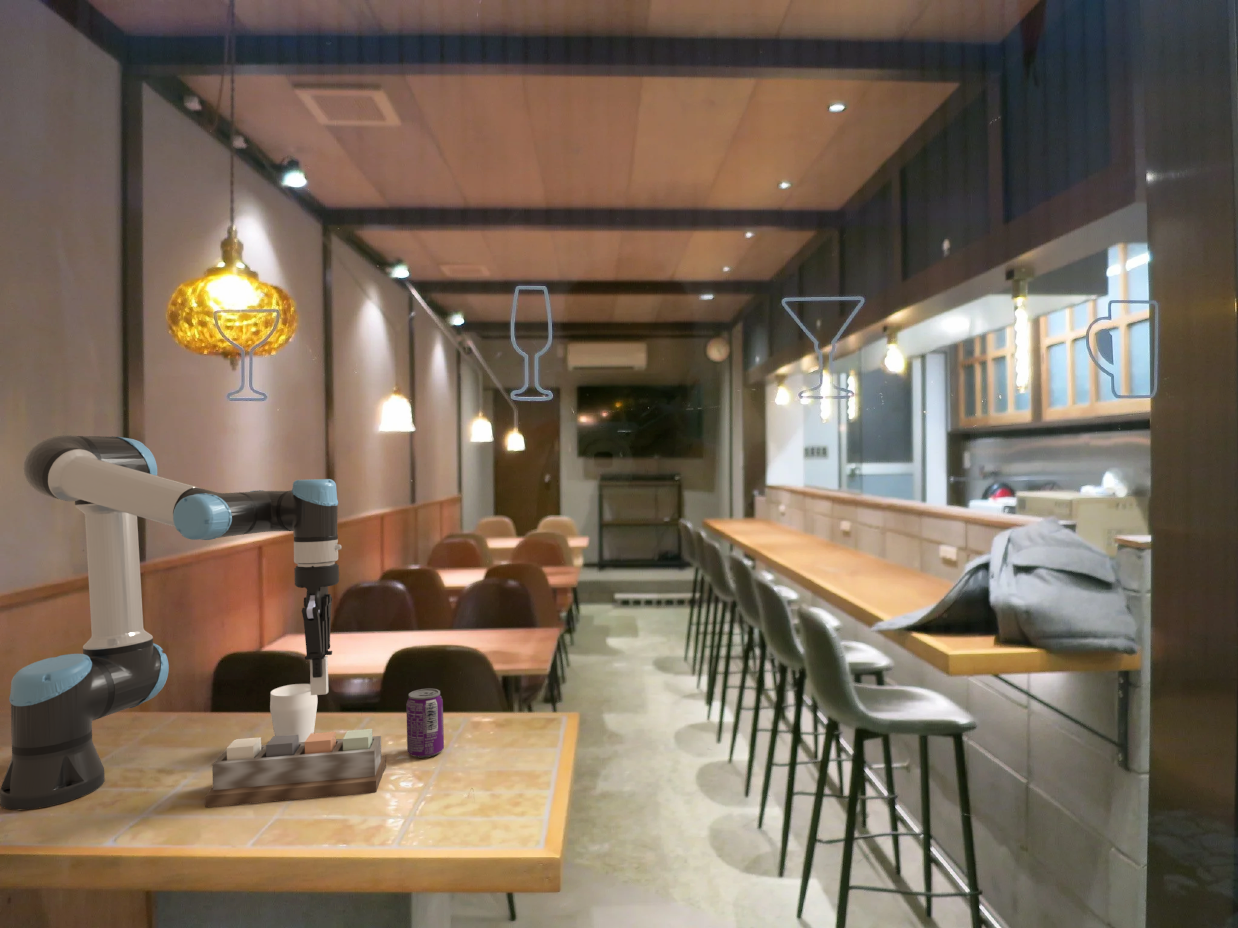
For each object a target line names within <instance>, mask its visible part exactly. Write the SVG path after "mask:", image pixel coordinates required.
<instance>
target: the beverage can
mask: <svg viewBox="0 0 1238 928" xmlns="http://www.w3.org/2000/svg"><path fill="white" fill-rule="evenodd" d="M405 709H406V746H407V748H406V749H407V750H406V752H407V753H408V754H409V755H410V756H413V757H415V758H420V759H422V758H430V757H433V756H436V755H438V754H439V753H440V752H442V751H443V750H444V747H445V738H444V737H445V736H444V700H443V697H442V695H441V690H439V689H437V688H421V689H416V690H413V691H411V692H409V693H408V699H407V701H406V708H405Z"/></svg>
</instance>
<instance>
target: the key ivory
mask: <svg viewBox="0 0 1238 928" xmlns="http://www.w3.org/2000/svg"><path fill="white" fill-rule="evenodd" d="M261 745H262V737H249V738H237V739H234V740H233V741H232V742H231V743H230V744H229V745H228V746H227V747H226V749H227V761H228V760H240V759H253V758H255V757H256V756H257V755H258V754H259V752H260V751H261Z"/></svg>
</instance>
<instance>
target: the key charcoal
mask: <svg viewBox="0 0 1238 928" xmlns="http://www.w3.org/2000/svg"><path fill="white" fill-rule="evenodd" d="M265 745H266V757H277V756H290V755H294V754H295V752H296V751H297V750H298V748H299V734H298V735H285V736H275V735H274V736H272V737H271V738H270V739H269V741H268V742H267V743H266V744H265Z"/></svg>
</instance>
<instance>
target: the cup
mask: <svg viewBox="0 0 1238 928" xmlns="http://www.w3.org/2000/svg"><path fill="white" fill-rule="evenodd" d="M269 701H270V702H269V711H270V716H271V717H270V718H271V721H272V722H271V723H272V727H273V733H274V736H285V735H298V734H299V742H305V741H306V739H307V738H308V737H309V735H310V734H311V733H315V725H316V719H317V718H316V717H317V709H318V702H319V701H318V695H311V685H310V683H295V684H287V685H283V686H279V687H277V688H274V689H272V690H271V691H270V700H269Z"/></svg>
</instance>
